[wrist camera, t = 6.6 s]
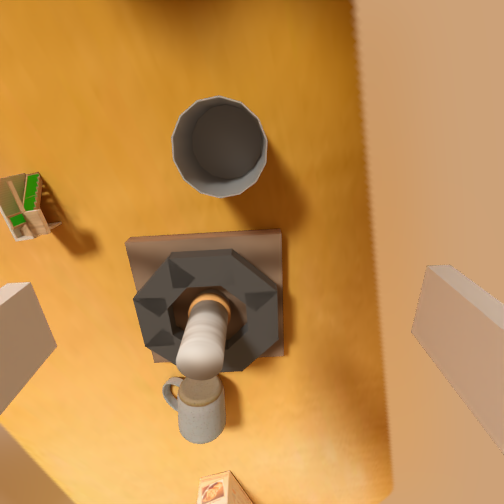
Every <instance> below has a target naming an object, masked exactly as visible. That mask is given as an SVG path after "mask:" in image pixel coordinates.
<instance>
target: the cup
mask: <svg viewBox="0 0 504 504" xmlns="http://www.w3.org/2000/svg"><path fill="white" fill-rule="evenodd" d="M171 139H172V153H173V161H174V163H175V165H176V167H177V168H178V170H179V172H180V174H181V176H182V178H183V180H184V181H186V182H187V183H188V184H189V185H191V186H192V187H193V188H194V189H196V190H197V191H198V192H200V193H202V194H206V195H210V196H214V197H218V198H224V197H229V196H234V195H239V194H241V193H242V192H244V191H245V190H246V189H248V188H249V187H250V186H252V185H253V184H254V183H256V182H257V180H258V178H259V176H260V174H261V172H262V170H263V168H264V166H265V165H266V160H267V138H266V135H265V133H264V130H263V128H262V125H261V123H260V120H259V118H258V117H257V116H256V115H255V114H254V113H253V112H252V111H250V110H249V109H248V108H247V107H246V106H245V105H244V104H243V103H242V102H240V101H236V100H233V99H229V98H226V97H223V96H214V97H210V98H205V99H201V100H197V101H196V102H194V103H193V104H192V105H191V106H190V107H189V108H188V109H186V110H185V111H184V112H183V113H182V114H181V115H180V116H179V118H178V121H177V124H176V126H175V129H174V132H173V134H172V137H171Z"/></svg>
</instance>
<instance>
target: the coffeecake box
mask: <svg viewBox="0 0 504 504" xmlns="http://www.w3.org/2000/svg"><path fill="white" fill-rule="evenodd" d="M197 504H253V503H252V501H251V500H250V499H249V497H248V496H247V494H246V493H245V492H244V490H243V489H242V487H241V486H240V484H239V483H238V482H237V480H236V479H235V477H234V476H233V475H232V473H231V472H230V471H226V472H223V473H219V474H215V475H210V476H206V477H202V478H200V484H199V491H198V498H197Z"/></svg>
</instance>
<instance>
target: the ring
mask: <svg viewBox="0 0 504 504" xmlns="http://www.w3.org/2000/svg"><path fill="white" fill-rule="evenodd" d="M206 286H222V287H223V288H224V289H226V290H227V291H228V292H230V293H231V294H232V295H234V296H235V297H236V298H238V299H239V300H240V301H242V302H243V303H244V304H246V312H247V323H246V324H245V325H244V326H243V327H242V328H241V329H240V330H239V331H238V332H237V333H235V334H234V335H233V336H232V337H231V338H230V339H229V340H226V342H225V352H224V361H223V368H222V370H221V372H234V371H243V370H244V369H245V368H246V367H247V366H249V365H250V364H251V363H252V362H253V361H254V360H255V359H257V358H258V357H259V356H260V355H261V354H262V353H264V352H265V351H266V350H267V349H268V348H269V347H270V346H272V345H273V344H274V343H275V342H276V341H277V340H279V336H278V301H277V292H278V291H277V285H276V283H275V282H273V281H272V280H271V279H270V278H268V277H267V276H266V275H265V274H263V273H262V272H261V271H260V270H258V269H257V268H256V267H255V266H253V265H252V264H251V263H250V262H248V261H247V260H246V259H244V258H243V257H242V256H241V255H239V254H238V253H237V252H236V251H234V250H233V249H232V248H231V249H217V250H199V251H181V252H171V254H170V255H169V256H168V257H167V259H166V260H165V261H164V262H163V263H162V264H161V266H160V267H159V268H158V269H157V270H156V271H155V273H154V274H153V275H152V276H151V277H150V278H149V280H148V281H147V282H146V283H145V284H144V285H143V287H142V288H141V289H140V290H139V291H138V292H137V294H136V295H135V297H134V298H133V301H134V304H135V308H136V312H137V316H138V320H139V324H140V328H141V332H142V336H143V339H144V343H145V347H147V348H149V349H150V350H152V351H154V352H155V353H157V354H158V355H160V356H162V357H163V358H165V359H167V360H168V361H170V362H171V363H173V364H175V365H176V357H177V354H178V351H179V348H180V344H181V341H182V338H183V335H184V332H185V331H184V330H182V329H181V328H179V327H178V326H176V322H175V317H174V312H173V307H172V303H173V302H174V301H175V300H176V299H177V298H178V297H179V296H180V295H181V293H182V292H183V291H184V290H185V289H186V288H188V287H206ZM176 366H177V365H176Z"/></svg>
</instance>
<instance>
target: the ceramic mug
mask: <svg viewBox="0 0 504 504" xmlns="http://www.w3.org/2000/svg"><path fill="white" fill-rule="evenodd" d="M171 384H172V385H176V386H178V387H179V390H178V397H177V399H176V398H175V397H174V396H173V395H172V393H171V391H170V385H171ZM163 396H164V398H165V400H166V402H167V403H168V404H169V405H170V406H171V407H172V408H173V409H174V410H176V411H178V421H179V430H180V433H181V434H182V436H183V437H184V438H185V439H186V440H188V441H189V442H192V443H197V444H204V443H208V442H211V441H213V440H214V439H216V438H217V437H218V436H219V435H220V434H221V433H222V431H223V429H224V427H225V423H226V412H225V394H224V387H223V384H222V381H221V379H220V378H219V377H218V376H215V377H214V378H211V379H208V380H193V379H190V378H188V377H186V378H185V379H184V380H183V379H182V378H179V377H172V378H170V379H169V380H168V381H167V382H166V383H165V384H164V386H163Z"/></svg>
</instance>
